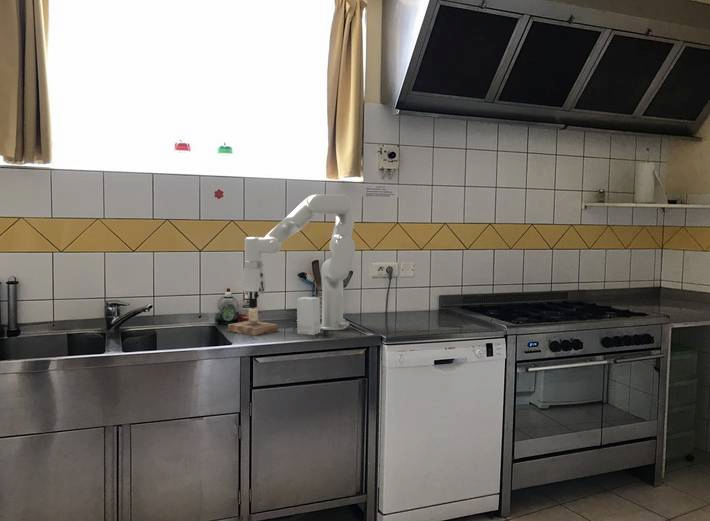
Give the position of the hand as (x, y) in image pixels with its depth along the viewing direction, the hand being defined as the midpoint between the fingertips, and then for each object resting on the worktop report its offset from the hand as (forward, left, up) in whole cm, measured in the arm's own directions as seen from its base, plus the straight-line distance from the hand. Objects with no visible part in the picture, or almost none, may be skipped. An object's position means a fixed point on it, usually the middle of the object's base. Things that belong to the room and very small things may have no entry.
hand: (253, 307), depth 260 cm
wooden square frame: (0, 0, -10) cm, 10 cm away
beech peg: (0, 0, -10) cm, 10 cm away
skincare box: (-22, -11, -11) cm, 27 cm away
